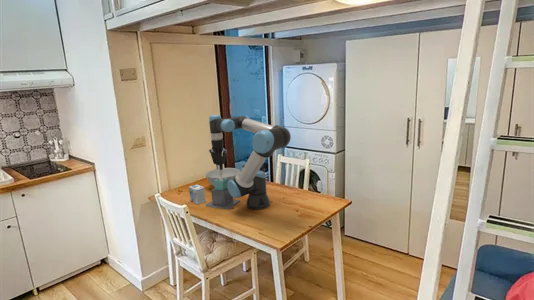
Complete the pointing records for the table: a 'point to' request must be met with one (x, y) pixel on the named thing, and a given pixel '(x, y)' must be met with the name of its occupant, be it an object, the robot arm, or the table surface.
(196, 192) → the light bulb box
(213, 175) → the decorative bowl
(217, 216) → the table surface
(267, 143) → the robot arm
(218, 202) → the bearing block
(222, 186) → the sleeve
